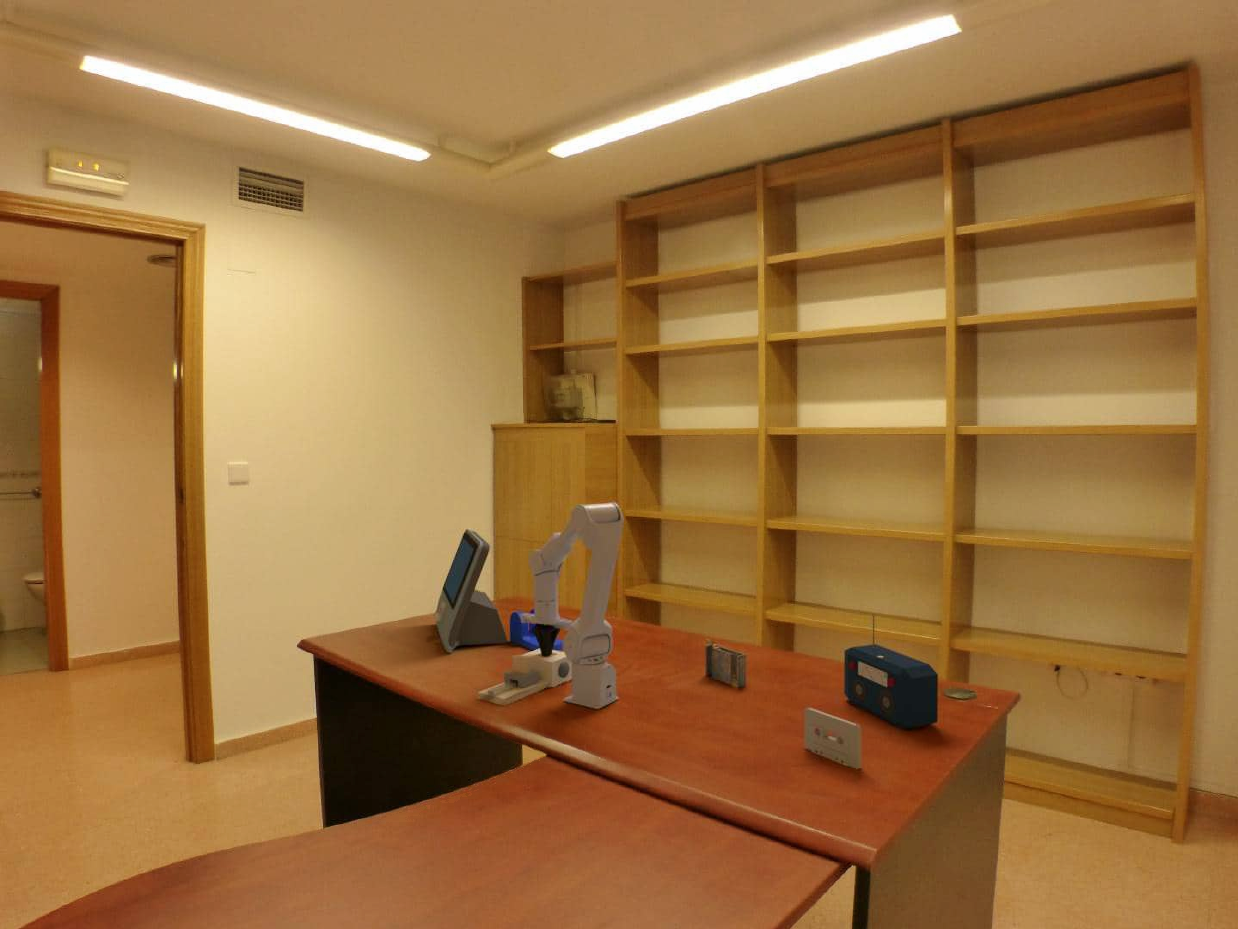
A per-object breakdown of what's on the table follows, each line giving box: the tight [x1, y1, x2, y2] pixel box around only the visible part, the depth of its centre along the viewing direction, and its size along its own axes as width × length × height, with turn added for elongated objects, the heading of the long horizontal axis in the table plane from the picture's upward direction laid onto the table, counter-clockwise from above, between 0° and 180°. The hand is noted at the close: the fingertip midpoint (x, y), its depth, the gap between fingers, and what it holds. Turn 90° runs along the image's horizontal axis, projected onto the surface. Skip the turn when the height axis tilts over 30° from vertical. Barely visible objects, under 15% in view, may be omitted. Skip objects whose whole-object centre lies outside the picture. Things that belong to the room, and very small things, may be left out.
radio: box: [843, 612, 939, 730], centre depth 162 cm, size 21×9×20 cm, turn 21°
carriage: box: [503, 654, 539, 688], centre depth 179 cm, size 6×5×6 cm
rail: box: [488, 680, 518, 696], centre depth 177 cm, size 2×15×1 cm, turn 145°
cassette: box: [803, 706, 862, 770], centre depth 140 cm, size 12×2×8 cm, turn 37°
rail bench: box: [477, 679, 550, 706], centre depth 177 cm, size 8×15×2 cm, turn 145°
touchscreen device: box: [433, 528, 509, 654], centre depth 227 cm, size 35×20×30 cm, turn 18°
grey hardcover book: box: [704, 637, 747, 688], centre depth 185 cm, size 11×3×10 cm, turn 35°
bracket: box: [509, 608, 564, 651], centre depth 217 cm, size 18×8×9 cm, turn 36°
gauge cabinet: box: [520, 649, 572, 688], centre depth 186 cm, size 10×8×6 cm
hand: (546, 655), depth 186 cm, fingers closed, pressing on reset button
